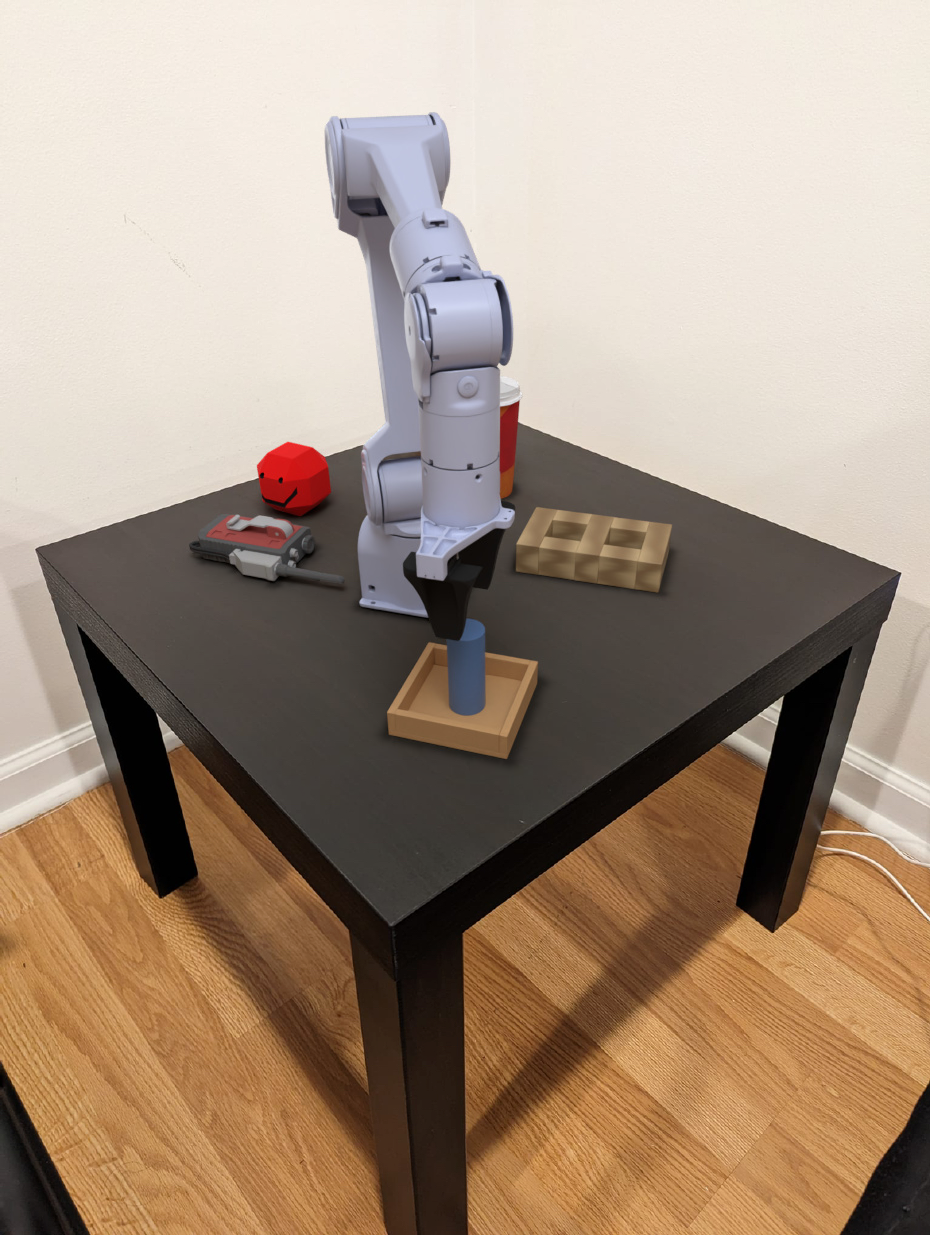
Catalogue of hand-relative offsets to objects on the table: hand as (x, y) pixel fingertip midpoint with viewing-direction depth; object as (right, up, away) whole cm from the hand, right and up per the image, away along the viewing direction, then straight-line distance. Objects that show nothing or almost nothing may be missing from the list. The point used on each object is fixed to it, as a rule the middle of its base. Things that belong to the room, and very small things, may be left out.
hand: (463, 610), depth 71 cm
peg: (0, -8, +5) cm, 10 cm away
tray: (0, -9, +6) cm, 10 cm away
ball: (-21, +13, +39) cm, 46 cm away
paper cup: (+3, +16, +41) cm, 44 cm away
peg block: (+14, +6, +26) cm, 30 cm away
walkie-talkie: (-21, +6, +27) cm, 35 cm away
